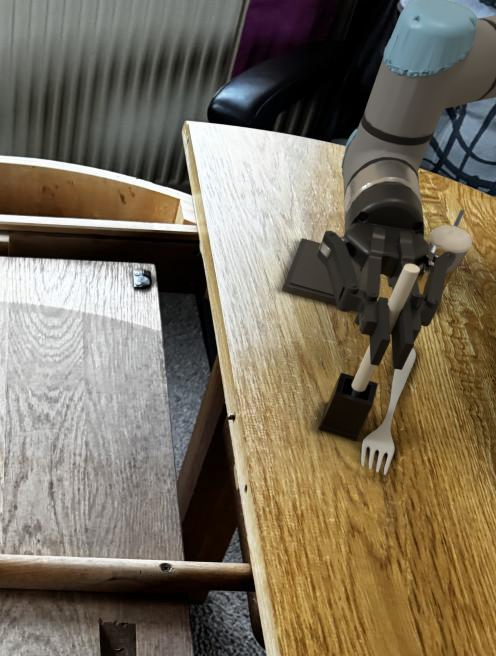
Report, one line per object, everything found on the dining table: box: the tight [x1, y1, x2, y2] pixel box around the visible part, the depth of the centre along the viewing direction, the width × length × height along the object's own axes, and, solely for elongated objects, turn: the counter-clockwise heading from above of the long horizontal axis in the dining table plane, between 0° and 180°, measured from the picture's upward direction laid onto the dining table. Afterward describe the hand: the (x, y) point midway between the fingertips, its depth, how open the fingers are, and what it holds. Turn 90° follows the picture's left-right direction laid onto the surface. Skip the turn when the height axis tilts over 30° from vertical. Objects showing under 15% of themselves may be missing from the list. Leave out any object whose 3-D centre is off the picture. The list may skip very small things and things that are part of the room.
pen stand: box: [318, 372, 379, 442], centre depth 94 cm, size 4×4×4 cm
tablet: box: [281, 237, 360, 312], centre depth 111 cm, size 9×11×1 cm
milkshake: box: [417, 208, 473, 295], centre depth 106 cm, size 5×5×10 cm
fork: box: [360, 347, 417, 476], centre depth 97 cm, size 3×24×2 cm, turn 156°
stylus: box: [352, 264, 420, 397], centre depth 87 cm, size 1×1×14 cm
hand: (392, 354), depth 82 cm, fingers closed on stylus
